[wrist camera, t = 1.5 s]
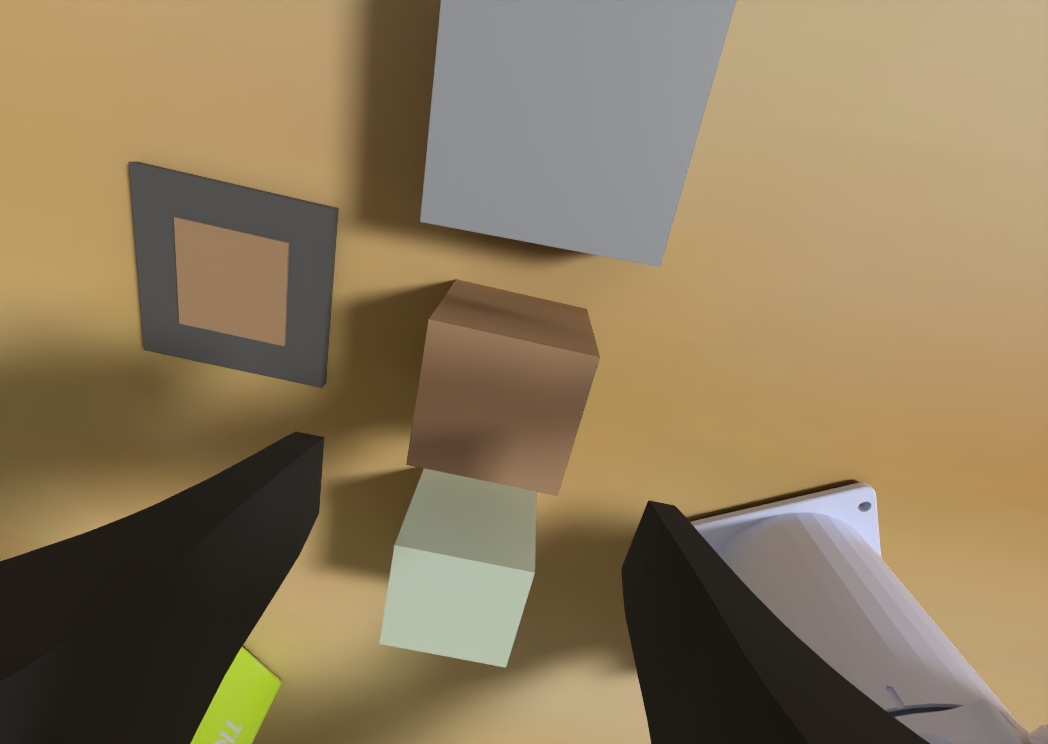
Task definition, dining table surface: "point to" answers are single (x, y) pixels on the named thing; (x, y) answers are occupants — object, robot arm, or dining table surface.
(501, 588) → the sage block
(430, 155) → the slate base
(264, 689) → the box
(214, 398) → the dining table surface
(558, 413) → the walnut block
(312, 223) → the card
